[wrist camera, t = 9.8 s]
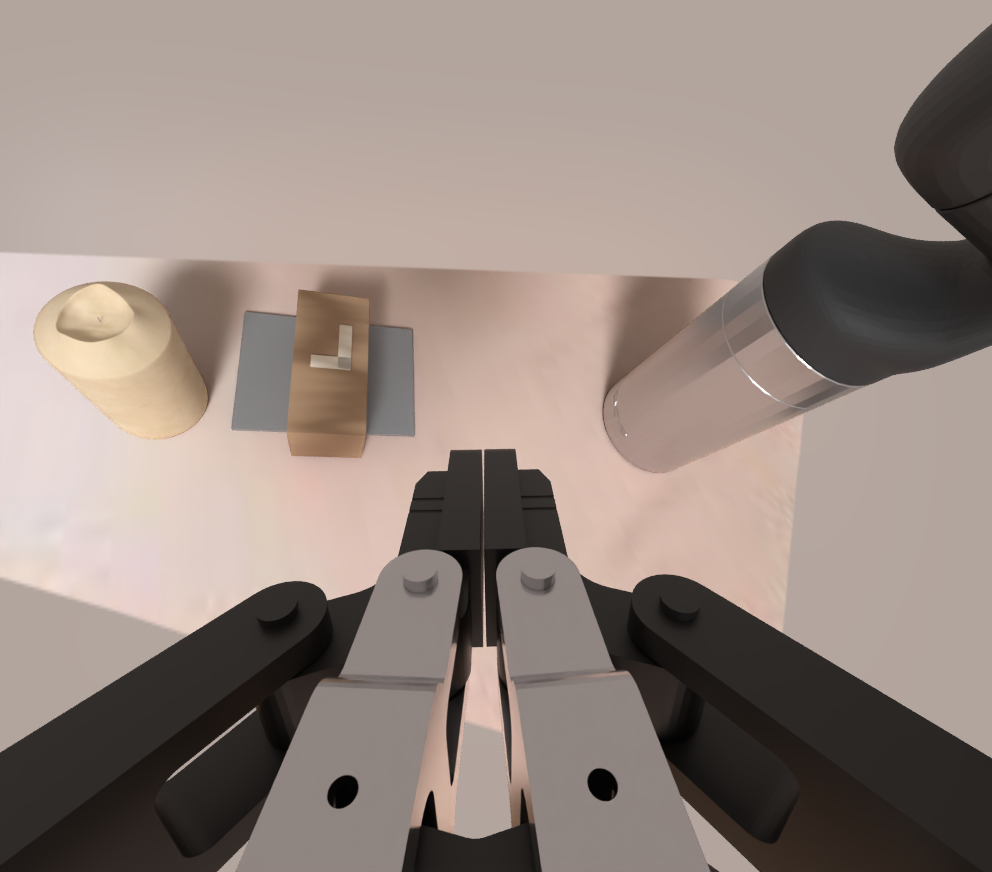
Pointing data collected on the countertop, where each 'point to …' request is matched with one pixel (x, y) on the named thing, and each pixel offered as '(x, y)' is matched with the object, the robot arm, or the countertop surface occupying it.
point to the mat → (271, 370)
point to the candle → (123, 357)
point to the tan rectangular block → (329, 376)
